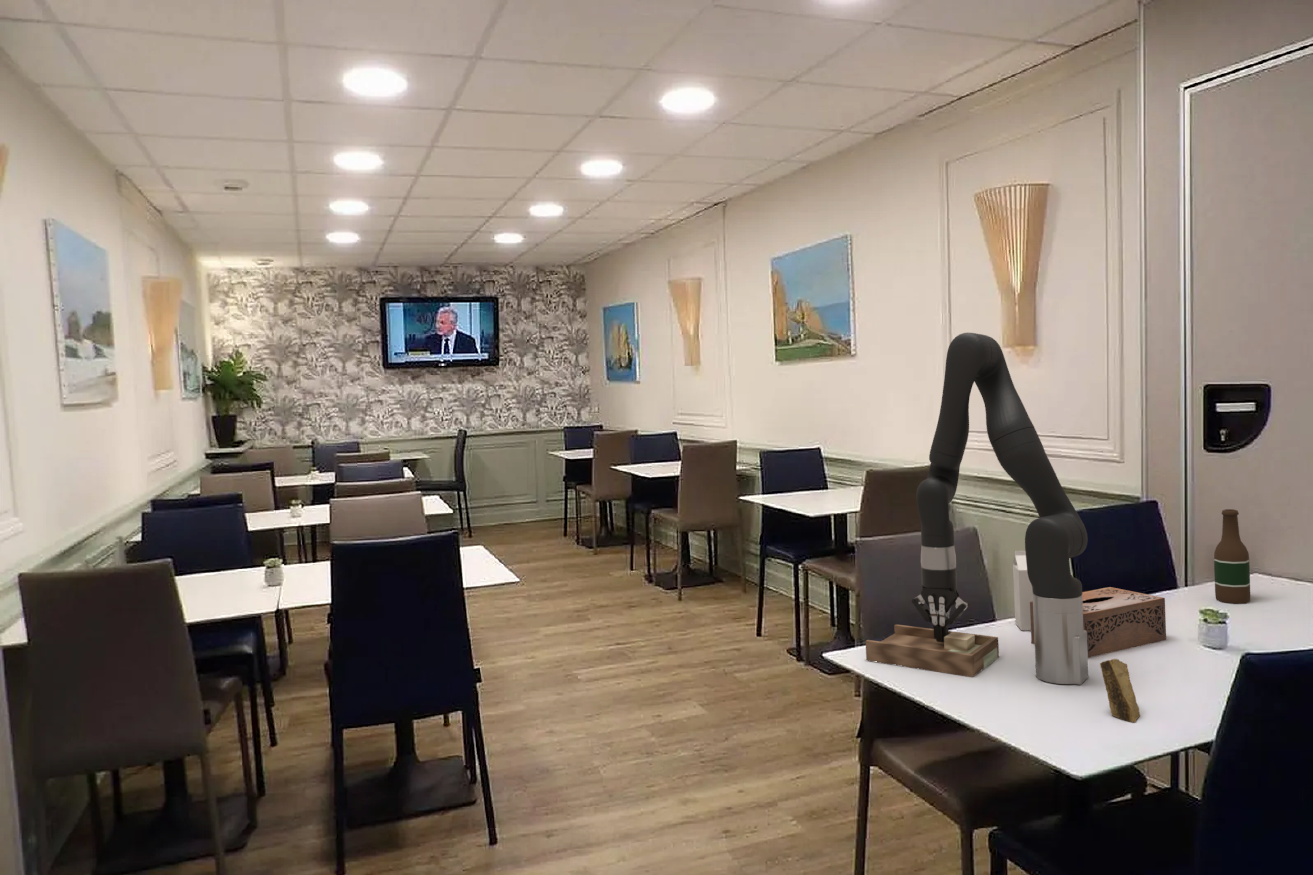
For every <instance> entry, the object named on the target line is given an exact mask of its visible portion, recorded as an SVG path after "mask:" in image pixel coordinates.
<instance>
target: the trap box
mask: <svg viewBox="0 0 1313 875" xmlns="http://www.w3.org/2000/svg"><path fill="white" fill-rule="evenodd" d="M893 626H894V633H893V634H891V635H889V636H887V637H886V638H884V639H882V640H881V641H880V640H879V641H878V640H871V639H867V640H865V657H866V660H870V661H869V662H872V661H877V662H876V663H879V662H881V664H885V663H887V665H892V664H896V665H895V666H898V665H902V666H901V667H904V666H906V668H912V669H917V668H919V670H924V669H925V671H930V672H931V671H932V672H938V673H943V674H949V673H950V675H957V676H961V677H962V676H963V677H970V678H974V677H975V676H976V675H977V674H979V673H981V672H982V671H983V670H984V669H986V668H987V667H988V666H990V664H992V663H993V662H995V661H996V660H997V659H999V657H1000V652H999V650H1000V649H999V645H1000V644H999V636H992V635H985V634H975V633H972V634H973V635H975V646H974V647H973V648H971V649H970V650H968V651H959V650H952V649H945V648H944V642H937V641H936V639H935V638H934V628H928V627H921V626H911V625H904V624H898V623H897V624H894V625H893ZM952 632H954V631H952V630H948V634H950V633H952ZM956 632H957V633H962V632H958V631H956ZM964 633H965V634H970V632H969V633H968V632H964ZM994 660H995V661H994ZM981 670H982V671H981Z"/></svg>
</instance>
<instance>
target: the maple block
mask: <svg viewBox="0 0 1313 875" xmlns="http://www.w3.org/2000/svg"><path fill="white" fill-rule="evenodd" d="M957 632H958V631H953V632H952V633H950V634H948V635H947V636H945V637H944V648H945V649H952V650H959V651H968V650H970V649H971V648H973V647H974V646H975V635H973V634H974V633H969V634H965V633H966V632H961V633H957Z"/></svg>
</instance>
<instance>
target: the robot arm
mask: <svg viewBox="0 0 1313 875" xmlns="http://www.w3.org/2000/svg"><path fill="white" fill-rule="evenodd" d="M1008 367H1009V366H1008V364H1007V361H1006V357H1005V355H1004V353H1003V350H1002V347H1001V345H1000V344H999V342H997V340H995V339H994V338H993V337H991V336H989V335H986V334H982V333H975V332H963V333H960V334H958V335H956V336H955V337H954V338H953V339H952V341H951V342H950V343H949V346H948V348H947V353H946V360H945V367H944V379H943V386H942V395H941V403H940V410H939V415H938V420H937V424H936V428H935V432H934V435H933V439H932V444H931V447H930V451H929V455H928V456H929V458H928V459H929V462H930V465H929V468H928V474H927V478H926V479H924V480H922V481H921V482H920V483H919V485H918V487H917V489H916V507H917V508H916V509H917V513H918V517H919V522H920V525H921V526H920V534H921V535H920V540H921V547H920V548H921V550H920V569H921V570H920V573H921V590H920V593H919V595H917V596H916V597H913V598H912V599H911V603H912V604H913V606H914V607H915V608H916V610H917V611H918V612H919V614H920V615H921V617H922V618H923V620H924V621H925V622H929V623H931V624H932V625H933V629H934V638H935V639H936V641H937V642H944V637H945V636H947V635H948V631H949V625H953V624H954V623H956V622H957V621H958V619H959V618H960V617H961V616H962V615H963V614H964V612H965V611H966V610H967V609H968V608H969V606H970V604H969V602H968V601H964V600H963V599H962V598H960V593H959V591H958V587H957V586H958V585H957V583H958V580H957V556H956V549H955V548H956V547H955V532H954V531H955V530H954V525H953V522H952V520H950V511H949V510H950V508H949V505H950V503H951V502H952V501H953V500H954V498H955V495H956V492H957V488H958V483H959V477H960V470H961V469H960V467H961V464H962V461H963V457H964V454H965V451H966V447H967V444H968V438H969V432H970V412H969V409H970V408H969V407H970V397H971V392H972V388H973V386H974V383H975V385H976V387H977V389H978V391H979V394H980V395H981V397H982V400H983V404H984V408H985V425H986V433H987V436H988V440H989V443H990V445H991V447H992V449H993V453H994V454H995V456H996V458H997V461H998V463H999V464H1000V466H1001V467H1002V468H1001V469H1003V470H1004V472H1006V473H1007V475H1008V476H1009V477H1010V479H1012V480H1013V481H1014V482H1015V483H1016V484H1017V485H1018V486H1019V487H1020V488H1021V489H1022V490H1023V491H1024V493H1025V494H1026V495H1027V496H1028V497H1029V499H1030V500H1031V502H1032V503H1033V505H1034V507H1035V509H1036V512H1037V515H1038V516H1039V517H1038V518H1036V519H1034V520H1032V521H1031V522H1030V523H1029V524H1028V526H1027V528H1026V531H1025V534H1024V535H1025V536H1024V551H1025V552H1026V563H1027V573H1028V578H1029V580H1030V583H1031V585H1032V590H1033V616H1034V641H1035V644H1034V658H1035V665H1034V667H1035V677H1036V678H1037V679H1039V680H1040V681H1044V682H1046V683H1051V684H1060V685H1079V686H1080V685H1082V684H1083V683H1084V682H1085V681H1086V680H1087V679H1088V678H1089V658H1088V650H1087V631H1086V630H1084V626H1083V600H1082V592H1083V584H1082V582H1081V580H1080V579H1078V578H1076V577H1073V575H1072V572H1071V567H1070V566H1071V565H1070V559H1071V558H1075V557H1078V556H1081V554H1083V553H1084V551H1085V550H1086V549H1087V546H1088V542H1089V540H1088V539H1089V538H1088V532H1087V529H1086V527H1085V523H1083V520H1082V519H1081V517H1080V514H1079V513H1078V512H1077V510H1076V509H1075V506H1074V505H1073V503H1072V502H1071V500H1070V499H1069V496H1068V495H1067V493H1066V492H1065V490H1064V488H1063V486H1062V484H1061V483H1060V480H1059V478H1058V476H1057V473H1056V472H1055V469H1054V467H1053V465H1052V463H1051V461H1050V458H1049V457H1048V456H1047V453H1046V450H1045V449H1044V446H1043V443H1042V441H1041V439H1040V437H1039V434H1038V432H1037V430H1036V428H1035V426H1034V424H1033V422H1032V420H1031V419H1030V416H1029V414H1028V412H1027V408H1025V405H1024V403H1023V401H1022V399H1021V397H1020V395H1019V393H1018V392H1017V389H1016V388H1015V384H1014V382H1013V380H1012V377H1011V374H1010V370H1009V368H1008ZM925 603H926V604H925ZM954 605H955V611H954V612H953V613H952V614H951V615H950V613H951V609H952V608H953V606H954Z"/></svg>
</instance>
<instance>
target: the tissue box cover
mask: <svg viewBox="0 0 1313 875" xmlns="http://www.w3.org/2000/svg"><path fill="white" fill-rule="evenodd" d="M1082 600H1083V626H1084V630H1086V631H1087V650H1088V659H1090V658H1093V657H1098V656H1102V655H1103V656H1104V655H1107V654H1110V653H1115V652H1120V651H1125V650H1129V649H1130V650H1131V649H1132V648H1138V647H1141V646H1146V645H1150V644H1155V643H1160V642H1164V641H1167V626H1166V625H1167V624H1166V621H1167V620H1166V597H1162V596H1156V595H1153V594H1147V593H1142V592H1137V591H1132V590H1128V589H1127V590H1126V589H1121V588H1118V587H1117V588H1116V587H1111V586H1109V587H1103V588H1098V589H1092V590H1085V591H1082ZM1030 619H1031V630H1030V635H1031V636H1030V639H1031V640H1030V641H1031V645H1035V641H1034V616H1033V602H1030Z"/></svg>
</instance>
